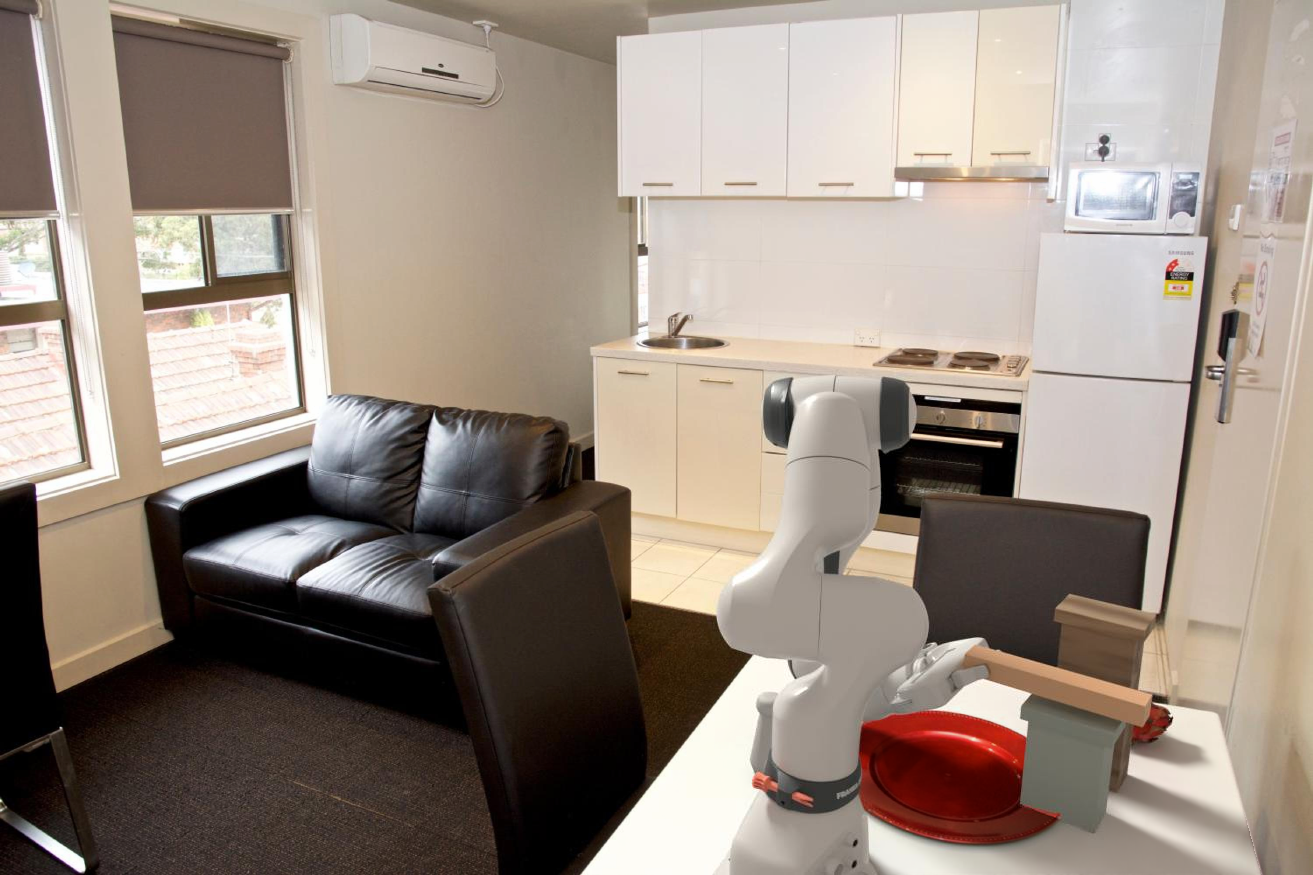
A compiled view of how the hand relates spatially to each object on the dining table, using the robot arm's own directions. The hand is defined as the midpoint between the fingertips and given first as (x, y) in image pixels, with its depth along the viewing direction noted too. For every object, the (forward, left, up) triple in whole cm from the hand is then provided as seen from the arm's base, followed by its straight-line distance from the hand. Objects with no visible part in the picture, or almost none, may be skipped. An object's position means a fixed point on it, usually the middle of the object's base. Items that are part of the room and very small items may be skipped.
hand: (994, 662), depth 138 cm
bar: (0, -8, -2) cm, 8 cm away
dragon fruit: (+27, -14, -19) cm, 36 cm away
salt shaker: (-19, +26, -19) cm, 37 cm away
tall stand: (+12, -11, -19) cm, 25 cm away
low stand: (0, -11, -19) cm, 22 cm away
